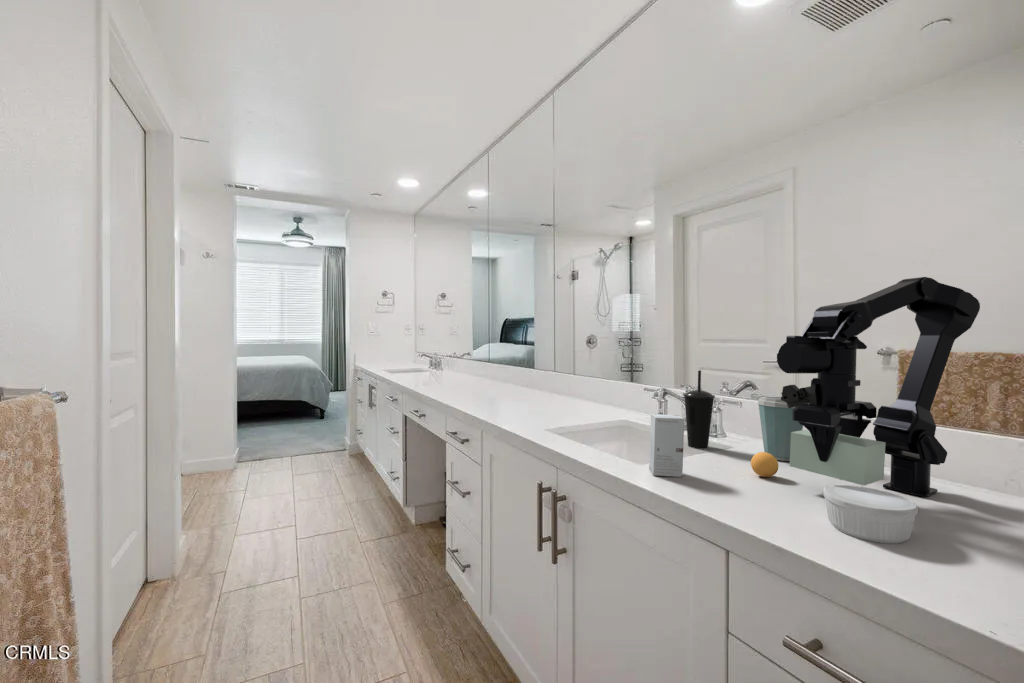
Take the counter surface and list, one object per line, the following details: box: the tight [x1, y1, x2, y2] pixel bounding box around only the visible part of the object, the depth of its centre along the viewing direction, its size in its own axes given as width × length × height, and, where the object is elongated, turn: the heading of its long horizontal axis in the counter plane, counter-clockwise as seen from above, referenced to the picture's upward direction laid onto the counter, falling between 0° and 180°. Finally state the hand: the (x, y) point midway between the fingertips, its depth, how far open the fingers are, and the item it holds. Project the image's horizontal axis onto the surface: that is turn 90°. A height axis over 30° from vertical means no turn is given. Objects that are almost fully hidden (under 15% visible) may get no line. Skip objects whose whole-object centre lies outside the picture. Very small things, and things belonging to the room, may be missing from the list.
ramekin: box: [823, 484, 919, 544], centre depth 68 cm, size 11×11×5 cm
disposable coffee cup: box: [757, 396, 804, 462], centre depth 109 cm, size 11×11×15 cm
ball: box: [750, 451, 779, 478], centre depth 94 cm, size 5×5×5 cm
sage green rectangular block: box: [789, 428, 886, 487], centre depth 83 cm, size 8×12×6 cm, turn 31°
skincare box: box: [648, 413, 685, 478], centre depth 95 cm, size 6×4×12 cm
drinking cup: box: [683, 370, 716, 450], centre depth 119 cm, size 8×8×20 cm
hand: (834, 458), depth 83 cm, fingers closed on sage green rectangular block, 8 cm apart
